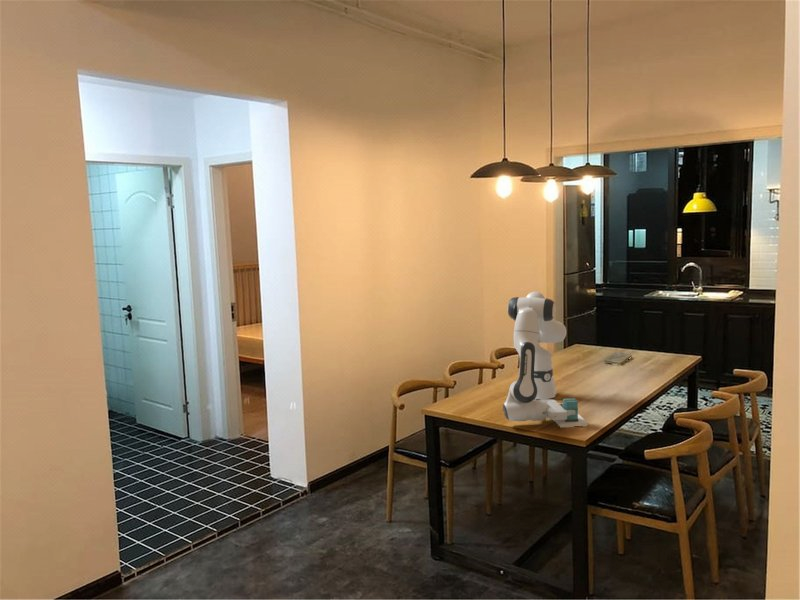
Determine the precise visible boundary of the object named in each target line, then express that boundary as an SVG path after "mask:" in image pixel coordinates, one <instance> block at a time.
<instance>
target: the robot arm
mask: <svg viewBox="0 0 800 600" xmlns="http://www.w3.org/2000/svg"><path fill="white" fill-rule="evenodd" d="M506 309H507V314H508V316H509V318H510V319H511V320H513V321H514V326H513V327H514V328H513V337H512V339H513V347H514V349H515V350H516V352H517V354H518V355H519V371H518V379H517V380H514V381H513V382H512V383H511V384H510V385H509V389H508V393H507V397H506V398H505V399H506V400H505V401H504V402H503V405H502V410H503V414H504V417H505V418H506V419H507V420H508V421H510V422H527V421H532V422H533V421H546V420H547V418H548V419H549V420H551V421H552V420H553V421H554V420H566V419H567V416H569V415H575V410H569V411H567V410H565V409H564V408H563V402H558V401H557V400H555V399H553V398H555V397H556V395H558V392H557V391H556V384H555V379H554V377H553V376H554V374H553V373H554V372H553V371H554V370H553V366H552V363H553V361H552V354H551V352H550V351H548V349H545V348H543V347H541V345H540V343H543V344H544V343H545V344H547V343H549V344H553V343H554V344H555V343H559V342H560V343H561V342H563V341H564V340H565V338H566V336H567V327H566V326H565V324H564V323H563V322H561V321H558V320H556V319H555V318H554V317H555V316H556V311H557V308H556V303H555V302H554V301H553V299H551V298H547V297H545V296H544V294H543V293H541V292H539V291H532V292H529V293H528V294H527V295H526V296H523V297H519V296H515V297H512V298H510V299H509V302H508V303H507V308H506Z"/></svg>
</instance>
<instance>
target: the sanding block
mask: <svg viewBox="0 0 800 600" xmlns="http://www.w3.org/2000/svg"><path fill="white" fill-rule="evenodd" d="M562 403H563V408H564V409H565V410H567V411H569V410H575V415H569V416H567V419H566V420H565V421H566V422H578V414H579V404H578V403H579V402H578V400H577V399H576V398H563V399H562Z"/></svg>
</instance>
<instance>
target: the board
mask: <svg viewBox="0 0 800 600" xmlns="http://www.w3.org/2000/svg"><path fill="white" fill-rule="evenodd" d="M553 421H554V422H555V423H556V424H557V425H558V427H559V426H560V428H575V427H574V426H583V427H588V426H589V424H588V421H586V419H585V418H584V417H582V416H581V415H580V414H579V413H578V422H566V421H565V420H553ZM587 425H588V426H587Z"/></svg>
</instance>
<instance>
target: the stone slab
mask: <svg viewBox="0 0 800 600" xmlns="http://www.w3.org/2000/svg"><path fill="white" fill-rule="evenodd" d="M630 357H632V354H629V353H626V352H621V351H615V352H612V353H611V354H608V355H607V356H606V357H605V359H603V363H605V364H606V363H611V364H610V365H612V364H617V365H616V366H619V365H621V364H622V363H623V364H625V363H626V362H627V361H626V360H628V359H629V358H630ZM629 360H630V359H629ZM629 360H628V361H629ZM625 361H626V362H625ZM624 362H625V363H624ZM623 364H622V365H623ZM622 365H621V366H622Z"/></svg>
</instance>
